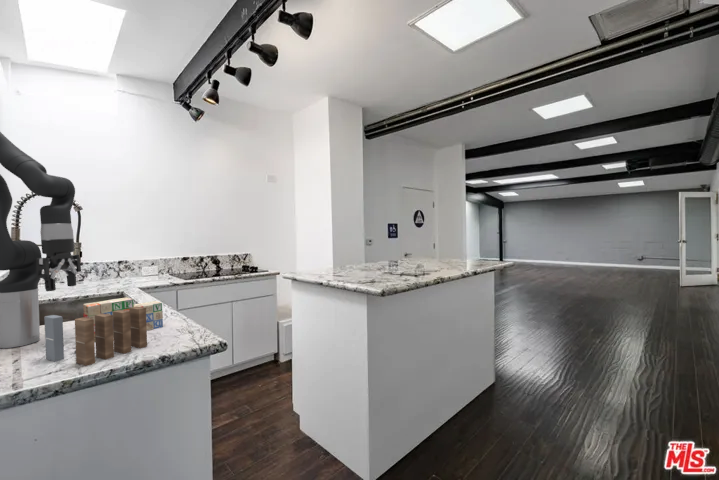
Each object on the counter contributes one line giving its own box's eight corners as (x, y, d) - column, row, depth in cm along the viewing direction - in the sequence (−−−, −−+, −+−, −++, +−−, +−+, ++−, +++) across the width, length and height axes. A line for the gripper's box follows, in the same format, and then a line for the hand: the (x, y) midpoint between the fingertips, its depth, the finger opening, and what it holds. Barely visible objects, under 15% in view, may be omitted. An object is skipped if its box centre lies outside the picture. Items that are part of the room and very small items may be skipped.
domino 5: (140, 348, 94) (139, 309, 94) (130, 346, 96) (129, 307, 96) (147, 346, 96) (146, 307, 96) (137, 343, 98) (136, 306, 98)
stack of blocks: (156, 324, 120) (155, 292, 120) (163, 327, 116) (162, 294, 116) (84, 340, 103) (82, 303, 103) (89, 344, 99) (87, 305, 99)
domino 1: (54, 361, 85) (52, 318, 85) (45, 358, 87) (44, 316, 87) (64, 359, 87) (62, 316, 87) (55, 356, 89) (53, 314, 89)
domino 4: (123, 353, 90) (122, 312, 90) (113, 351, 92) (112, 311, 92) (131, 351, 92) (130, 311, 92) (121, 348, 94) (120, 309, 94)
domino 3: (105, 359, 86) (104, 316, 86) (95, 356, 88) (94, 314, 88) (114, 356, 88) (112, 315, 88) (104, 354, 90) (103, 313, 90)
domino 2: (85, 366, 82) (84, 321, 82) (76, 362, 84) (74, 319, 84) (95, 363, 84) (93, 319, 84) (85, 360, 86) (83, 317, 86)
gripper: (62, 238, 106) (66, 285, 106) (23, 239, 92) (28, 293, 92) (86, 237, 107) (90, 284, 107) (52, 238, 93) (57, 291, 93)
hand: (61, 288), depth 100 cm, fingers open, 8 cm apart
